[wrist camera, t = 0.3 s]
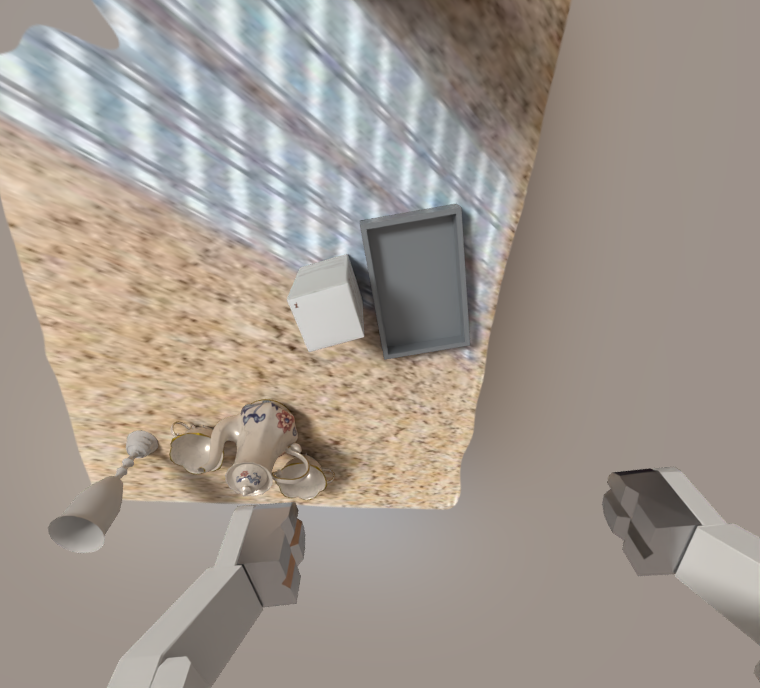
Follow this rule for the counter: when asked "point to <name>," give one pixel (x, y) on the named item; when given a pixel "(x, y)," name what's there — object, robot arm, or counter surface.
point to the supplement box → (327, 303)
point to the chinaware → (252, 452)
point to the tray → (418, 280)
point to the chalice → (98, 503)
